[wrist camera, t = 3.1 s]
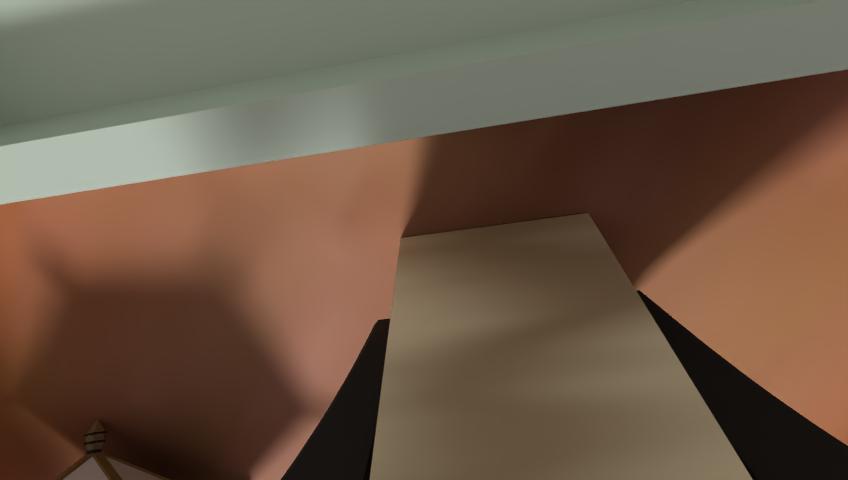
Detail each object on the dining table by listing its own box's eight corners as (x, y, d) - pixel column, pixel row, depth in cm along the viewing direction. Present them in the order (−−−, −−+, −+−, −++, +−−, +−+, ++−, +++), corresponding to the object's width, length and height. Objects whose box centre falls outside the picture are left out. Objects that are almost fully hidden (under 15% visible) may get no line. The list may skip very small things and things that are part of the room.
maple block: (588, 213, 9) (780, 526, 4) (583, 348, 11) (706, 666, 6) (400, 238, 10) (360, 548, 4) (430, 363, 12) (425, 672, 7)
